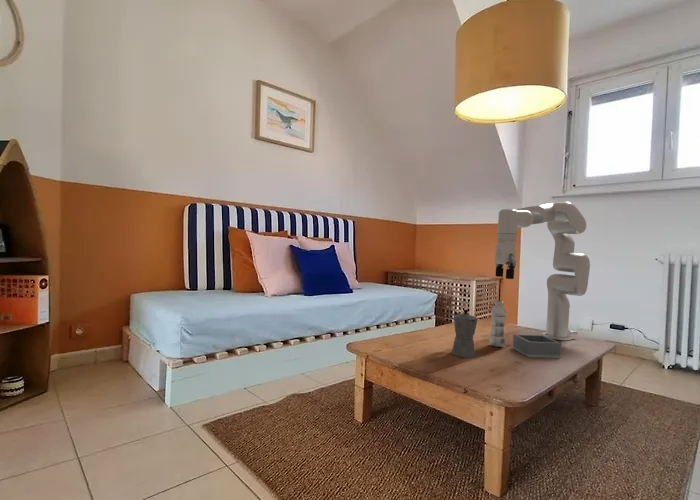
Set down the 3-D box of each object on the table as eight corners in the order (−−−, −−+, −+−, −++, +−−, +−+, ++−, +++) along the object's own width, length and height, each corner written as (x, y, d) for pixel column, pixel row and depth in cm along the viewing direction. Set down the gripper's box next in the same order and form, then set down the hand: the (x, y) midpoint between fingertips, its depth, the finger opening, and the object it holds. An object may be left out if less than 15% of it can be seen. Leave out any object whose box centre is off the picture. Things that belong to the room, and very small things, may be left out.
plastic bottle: (503, 345, 166) (506, 300, 165) (505, 349, 159) (508, 302, 159) (488, 343, 168) (491, 299, 167) (489, 347, 161) (491, 301, 161)
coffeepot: (483, 359, 144) (485, 312, 143) (460, 359, 142) (463, 312, 141) (462, 347, 159) (465, 305, 158) (442, 348, 157) (444, 305, 156)
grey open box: (542, 349, 163) (543, 335, 163) (560, 358, 150) (561, 343, 150) (512, 348, 162) (513, 334, 162) (528, 357, 150) (528, 342, 149)
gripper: (489, 237, 169) (487, 275, 170) (507, 237, 152) (505, 279, 152) (505, 238, 170) (503, 276, 170) (525, 238, 152) (523, 280, 153)
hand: (504, 277), depth 161 cm, fingers open, 9 cm apart
